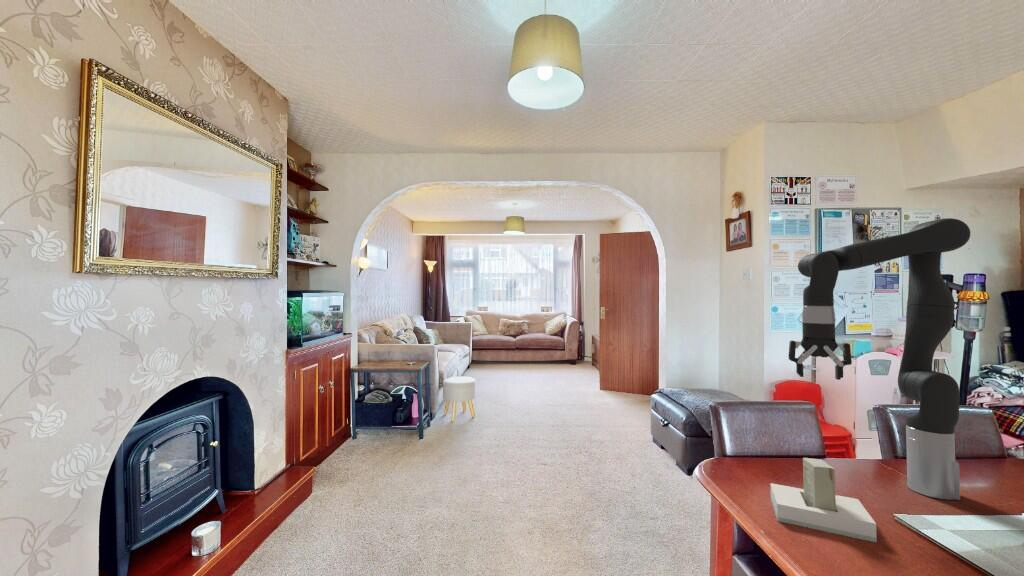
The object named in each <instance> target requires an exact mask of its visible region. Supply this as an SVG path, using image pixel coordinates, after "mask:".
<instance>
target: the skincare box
mask: <svg viewBox="0 0 1024 576" xmlns="http://www.w3.org/2000/svg"><path fill="white" fill-rule="evenodd" d="M802 469H803V470H802V473H803V474H802V475H803V479H802V480H803V489H804V502H805V504H806V506H808V507H813V508H818V509H823V510H828V511H834V512H836V500H835V495H836V480H835V479H836V476H835V475H836V473H835V471H836V470H835V468H834V467H833V466H832V465H831V464H829V463H828V462H826V461H825V460H823V459H821V458H820V459H818V458H812V457H811V458H809V457H802Z"/></svg>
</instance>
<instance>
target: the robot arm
mask: <svg viewBox="0 0 1024 576" xmlns="http://www.w3.org/2000/svg"><path fill="white" fill-rule="evenodd" d="M970 238H971V229H970V226H968V224H967V223H965V222H964V221H963V220H961V219H957V218H950V217H949V218H939V219H938V218H937V219H936V220H935V219H934V220H931V221H925V222H922V223H919V224H917V225H915V226H913V227H912V228H911V229H910V231H908V232H904V233H900V234H896V235H891V236H885V237H880V238H876V239H874V238H873V239H869V240H865V241H861V242H856V243H851V244H848V245H845V246H842V247H838V248H835V249H831V250H825V251H820V252H816V253H811V254H806V255H805V256H803V257H802V258H800V260H799V261H798V262H797V263H798V264H797V268H798V269H797V270H798V272H799V273H800V274H801V275H802V276H804V277H806V278H809V284H808V285H807V286H806V287H804V289H803V293H802V296H803V297H802V303H803V304H802V305H803V306H802V315H801V316H802V318H801V319H802V320H801V323H802V338H801V341H799V340H798V341H795V340H793V339H791V340H789V343H788V345H789V347H788V360H790V361H791V362H793V363H795V365H796V369H795V371H796V374H797V375H798V376H799V377H801V378H804V364H803V363H804V362H805V361H806V360H807V359H808V358H809V357H810V356H811V357H812V358H813V357H814V358H817V357H821V358H828V357H829V358H830V360H832V361H833V362H834V363H835V366H834V371H835V375H834V378H835V379H836V380H839V381H841V380H842V379H843V378H844V367H845V366H850V365H852V353H851V344H850V343H847V342H842V343H841V342H840V343H839V342H838V343H837V342H836V321H837V319H836V313H835V308H834V307H835V306H834V305H835V303H834V302H835V301H834V300H835V299H834V298H835V297H834V296H835V295H834V290H835V287H836V286H837V285H836V284H837V280H838V277H839V272H841V271H842V272H843V271H849V270H850V271H851V270H856V269H860V268H865V267H868V266H872V265H876V264H880V263H884V262H888V261H892V260H895V259H899V258H903V257H904V258H905V257H907V258H908V288H907V289H908V290H907V292H908V293H907V302H906V313H905V314H906V315H905V318H906V320H905V333H904V341H903V342H904V344H903V350H902V356H901V361H900V366H899V371H898V376H897V387H898V389H899V391H900V393H901V395H903V396H904V397H905V398H907V399H909V400H912V401H915V402H919V409H918V412H916V413H909V414H907V415H906V418H905V424H906V425H905V434H906V435H905V437H906V438H905V439H906V440H905V441H906V482H907V483H906V485H907V488H909V489H910V490H911V491H913V492H915V493H917V494H920V495H924V496H926V497H930V498H934V499H941V500H956V501H957V500H958V501H961V483H960V479H961V478H960V475H961V474H960V463H958V462H957V461H956V448H955V446H956V443H955V442H956V441H955V440H956V439H955V438H956V437H955V427H956V426H957V424H958V422H959V419H960V417H959V416H960V402H961V400H960V399H961V396H960V395H961V394H960V393H961V391H960V387H959V384H958V382H957V381H956V380H955V378H953V377H952V376H951V375H950V374H947V373H945V372H944V373H943V372H940V371H935V370H933V360H934V354H935V352H936V351H937V348H938V347H939V345H940V344H941V342H942V341H943V340H944V339H945V338H946V337H947V335H948V334H949V332H950V331H951V329H952V327H953V325H954V321H955V319H954V318H955V306H956V305H955V299H954V295H953V294H952V292H951V290H950V288H949V286H948V285H947V283H946V281H945V280H944V278H943V275H942V272H941V258H942V253H948V252H953V251H955V250H958V249H960V248H962V247H964V246H965V245H967V243H968V242H969V240H970ZM800 346H801V347H802V349H803V351H802V352H801V354H800V355H799V356H798V357H796V350H797V349H798V348H799V347H800ZM837 348H839V350H840V351H842V358H843V360H841V359H840V358H839V357H838V355H836V353H835V350H836V349H837Z"/></svg>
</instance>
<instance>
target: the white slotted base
mask: <svg viewBox="0 0 1024 576" xmlns="http://www.w3.org/2000/svg"><path fill="white" fill-rule="evenodd" d="M769 485H770V501H771V504H772V505H771V506H772V508H773V510H774V511H773V512H774V514H775V517H776V520H777V522H781V523H785V524H789V525H792V526H793V525H794V526H800V527H803V528H807V527H808V528H807V529H812V530H817V531H822V532H826V533H831V534H836V535H840V536H845V537H849V538H854V539H859V540H863V541H868V542H872V543H877V541H878V540H877V539H878V538H877V523H876V522H875V520H874V519H873V517H872V515H870V513H869V512H868V511H867V509H866V508H865V506H864V505H863V504H862V502H861V501H860V500H859V499H858V498H854V497H850V496H849V497H848V496H844V495H843V496H842V495H839V494H838V495H837V494H835V500H836V512H834V511H828V510H823V509H818V508H813V507H808V506H806V504H805V502H804V488H799V487H793V486H787V485H782V484H776V483H772V482H771V483H769Z"/></svg>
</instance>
